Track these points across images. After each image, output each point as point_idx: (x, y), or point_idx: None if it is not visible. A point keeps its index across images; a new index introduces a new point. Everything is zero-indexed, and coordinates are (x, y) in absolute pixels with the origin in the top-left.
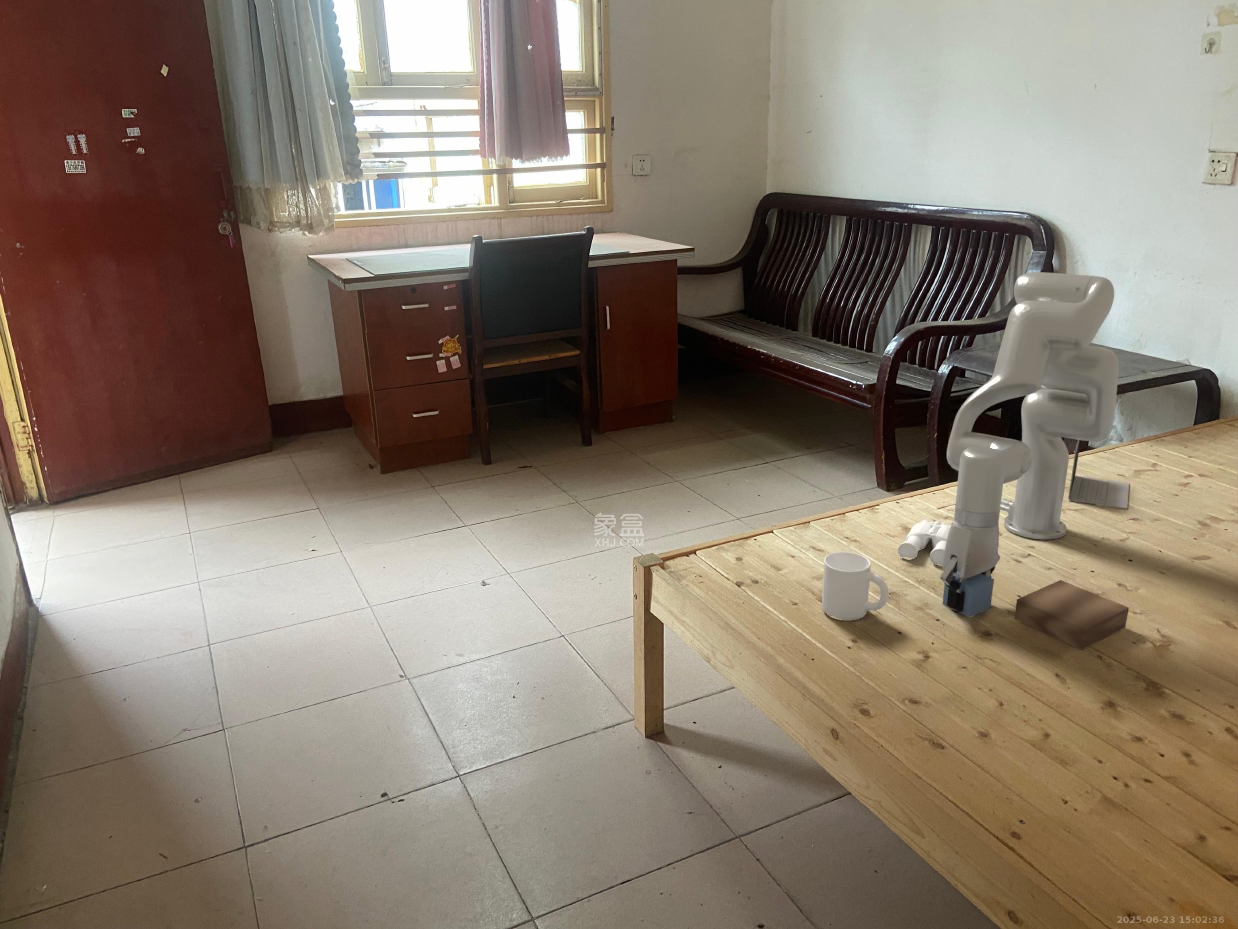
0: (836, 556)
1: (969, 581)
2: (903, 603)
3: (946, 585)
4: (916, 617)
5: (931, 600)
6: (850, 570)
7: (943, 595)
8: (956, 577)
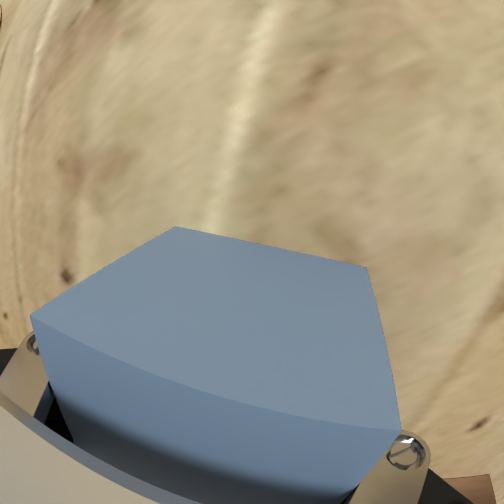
0: None
1: (131, 474)
2: (64, 93)
3: (3, 350)
4: (30, 208)
5: (169, 156)
6: None
7: (144, 244)
8: (86, 404)
